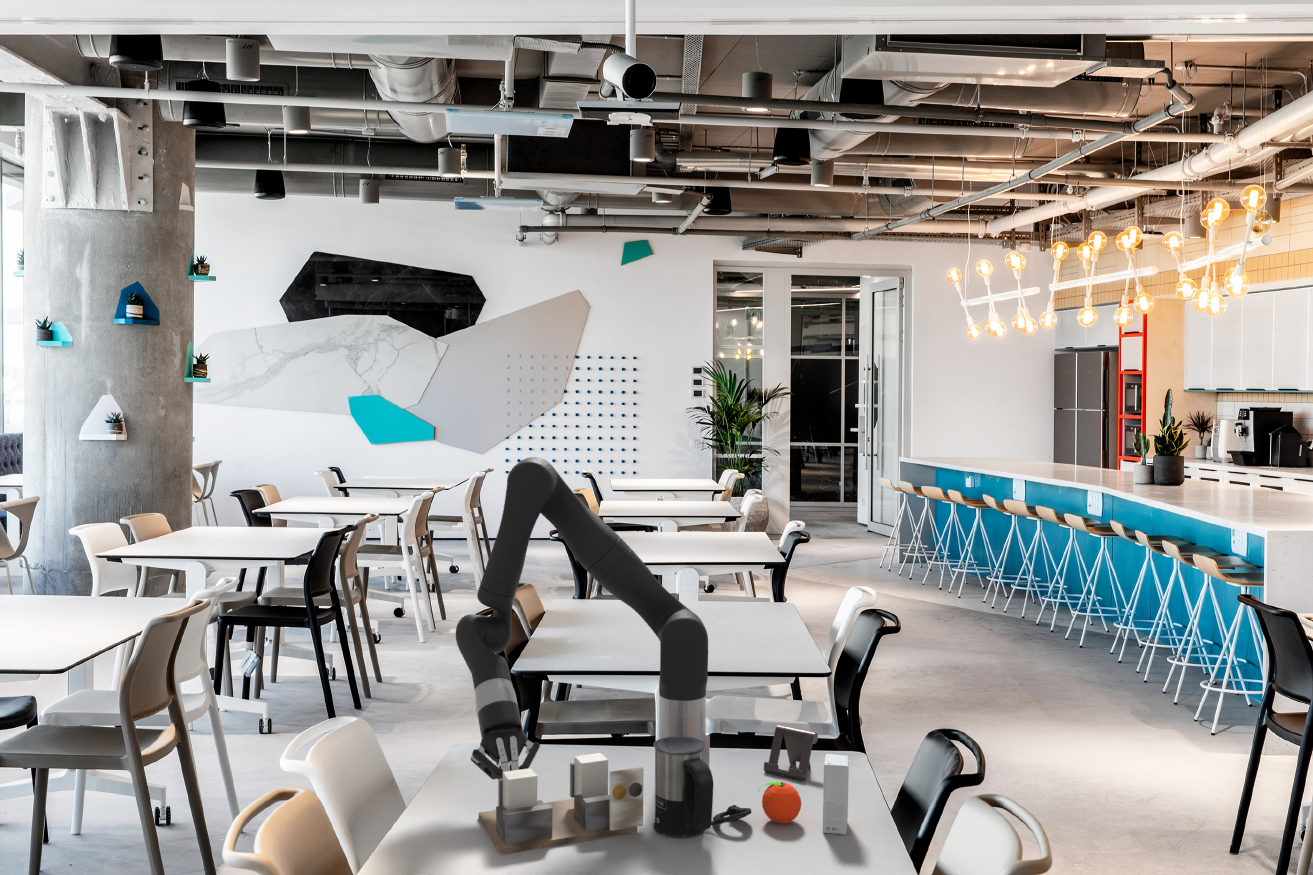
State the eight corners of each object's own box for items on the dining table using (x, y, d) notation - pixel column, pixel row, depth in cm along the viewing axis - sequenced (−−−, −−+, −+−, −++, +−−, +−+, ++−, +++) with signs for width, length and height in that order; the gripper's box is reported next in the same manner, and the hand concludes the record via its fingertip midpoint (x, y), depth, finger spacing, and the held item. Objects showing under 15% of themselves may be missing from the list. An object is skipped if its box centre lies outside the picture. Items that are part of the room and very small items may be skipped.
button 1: (531, 816, 180) (531, 765, 180) (539, 827, 175) (540, 775, 175) (498, 821, 178) (498, 770, 177) (505, 832, 173) (505, 779, 173)
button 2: (600, 799, 188) (601, 750, 188) (610, 809, 184) (610, 759, 183) (569, 803, 186) (570, 754, 186) (578, 813, 181) (578, 763, 181)
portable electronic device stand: (762, 772, 207) (763, 731, 207) (781, 761, 213) (781, 722, 213) (802, 782, 202) (802, 740, 201) (819, 770, 208) (820, 729, 208)
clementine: (751, 824, 181) (751, 785, 180) (761, 810, 187) (762, 772, 187) (795, 832, 178) (796, 791, 177) (805, 817, 184) (805, 778, 184)
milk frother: (641, 827, 179) (642, 743, 179) (700, 802, 191) (701, 723, 190) (703, 852, 169) (704, 763, 169) (761, 824, 181) (762, 741, 180)
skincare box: (847, 835, 176) (848, 766, 176) (822, 833, 177) (823, 764, 177) (848, 821, 182) (849, 754, 182) (823, 819, 183) (824, 752, 183)
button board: (610, 798, 192) (610, 740, 192) (643, 831, 177) (643, 768, 177) (478, 817, 182) (478, 756, 182) (501, 854, 167) (502, 788, 167)
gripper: (465, 702, 185) (480, 793, 174) (536, 695, 190) (555, 783, 179) (458, 723, 190) (473, 812, 179) (528, 715, 195) (546, 802, 184)
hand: (514, 797), depth 179 cm, fingers closed
